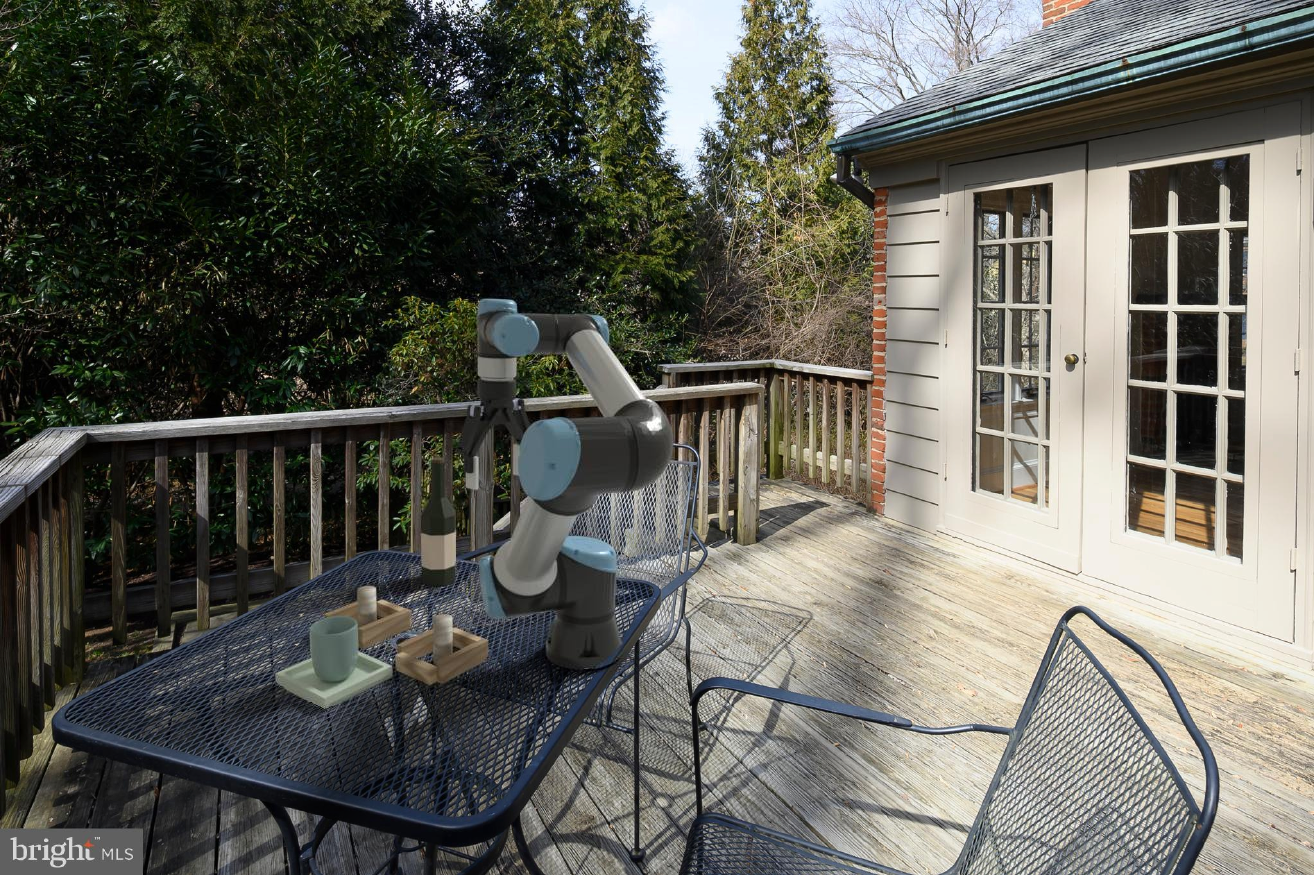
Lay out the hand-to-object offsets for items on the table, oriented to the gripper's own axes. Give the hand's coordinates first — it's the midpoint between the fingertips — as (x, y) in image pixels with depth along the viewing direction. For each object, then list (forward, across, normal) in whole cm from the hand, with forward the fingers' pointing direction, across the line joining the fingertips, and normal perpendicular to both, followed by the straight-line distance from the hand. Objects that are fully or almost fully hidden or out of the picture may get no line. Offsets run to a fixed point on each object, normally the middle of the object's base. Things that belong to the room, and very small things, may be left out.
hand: (496, 481), depth 162 cm
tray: (+32, +34, -7) cm, 47 cm away
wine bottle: (+32, -10, -28) cm, 44 cm away
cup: (+31, +34, -7) cm, 46 cm away
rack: (+32, +18, -8) cm, 37 cm away
